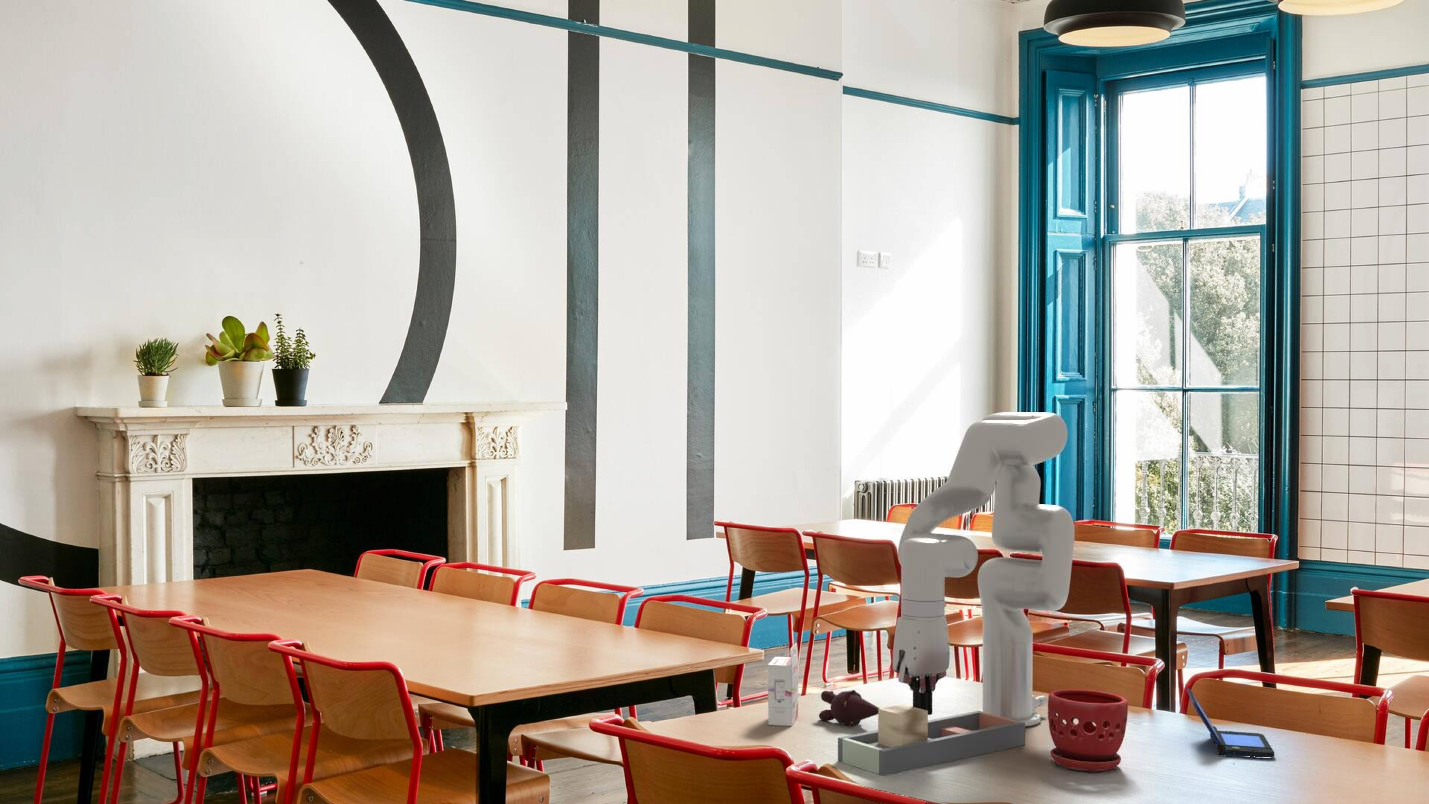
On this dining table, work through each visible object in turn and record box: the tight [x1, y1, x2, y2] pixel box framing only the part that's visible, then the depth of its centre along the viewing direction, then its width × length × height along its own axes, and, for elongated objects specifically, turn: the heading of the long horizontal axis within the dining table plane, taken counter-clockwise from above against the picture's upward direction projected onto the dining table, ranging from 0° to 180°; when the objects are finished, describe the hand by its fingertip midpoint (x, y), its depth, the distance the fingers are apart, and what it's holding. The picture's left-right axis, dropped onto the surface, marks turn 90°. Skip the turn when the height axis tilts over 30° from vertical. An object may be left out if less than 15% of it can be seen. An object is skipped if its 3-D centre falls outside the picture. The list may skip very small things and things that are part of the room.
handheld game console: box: [1186, 688, 1275, 758], centre depth 240 cm, size 16×13×9 cm
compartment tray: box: [837, 710, 1026, 777], centre depth 235 cm, size 35×11×4 cm, turn 126°
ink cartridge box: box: [767, 642, 799, 727], centre depth 258 cm, size 9×5×15 cm, turn 168°
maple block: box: [877, 704, 929, 747], centre depth 230 cm, size 6×6×6 cm
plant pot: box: [1047, 688, 1129, 772], centre depth 227 cm, size 13×13×12 cm
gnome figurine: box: [818, 689, 880, 728], centre depth 255 cm, size 7×7×15 cm
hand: (922, 713), depth 233 cm, fingers closed
